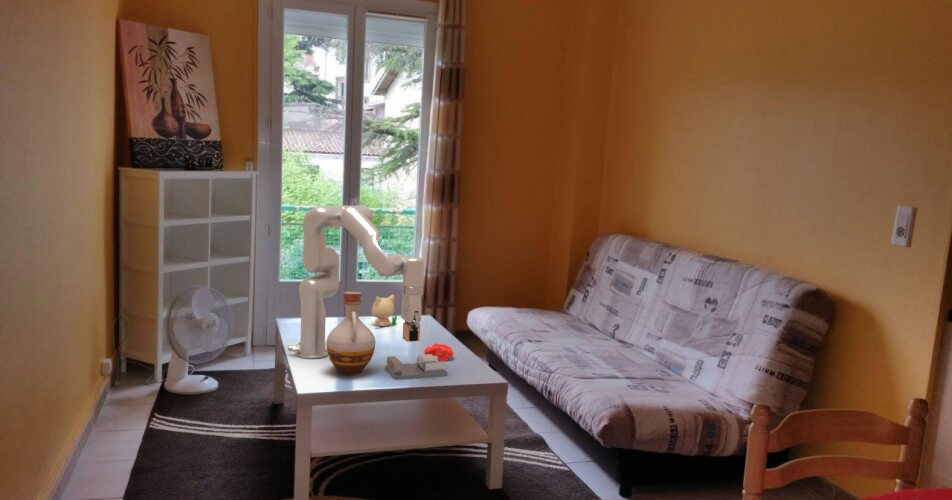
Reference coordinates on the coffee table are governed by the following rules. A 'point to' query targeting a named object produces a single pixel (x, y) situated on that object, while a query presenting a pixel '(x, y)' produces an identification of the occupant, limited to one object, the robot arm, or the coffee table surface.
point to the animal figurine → (439, 351)
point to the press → (414, 369)
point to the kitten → (384, 310)
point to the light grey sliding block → (426, 359)
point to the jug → (351, 339)
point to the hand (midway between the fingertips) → (411, 338)
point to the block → (406, 332)
